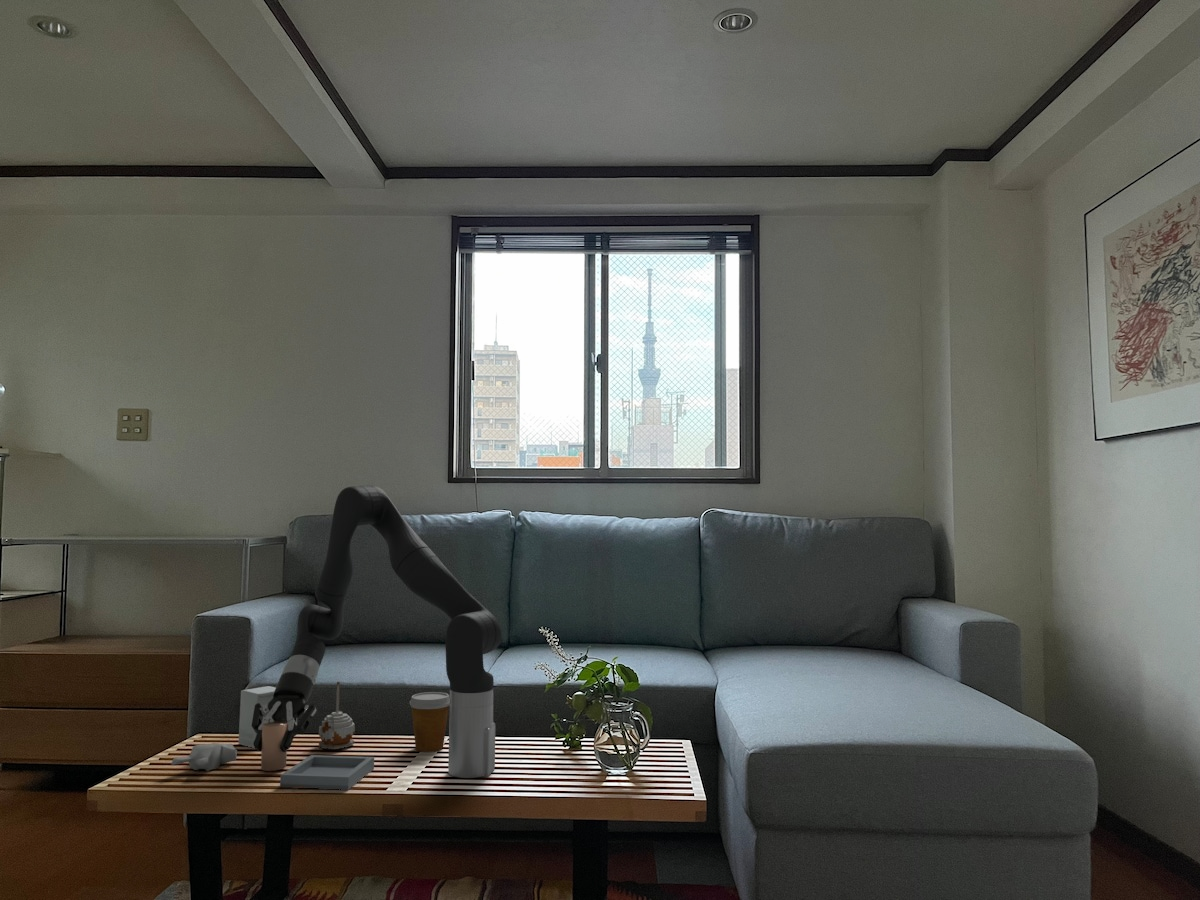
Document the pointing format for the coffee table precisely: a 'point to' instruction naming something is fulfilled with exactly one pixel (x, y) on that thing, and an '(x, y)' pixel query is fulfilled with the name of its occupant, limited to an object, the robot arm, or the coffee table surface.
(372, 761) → the tray
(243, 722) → the supplement box
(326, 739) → the caramel apple
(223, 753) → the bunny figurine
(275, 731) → the tumbler
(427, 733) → the disposable coffee cup
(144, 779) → the coffee table surface
